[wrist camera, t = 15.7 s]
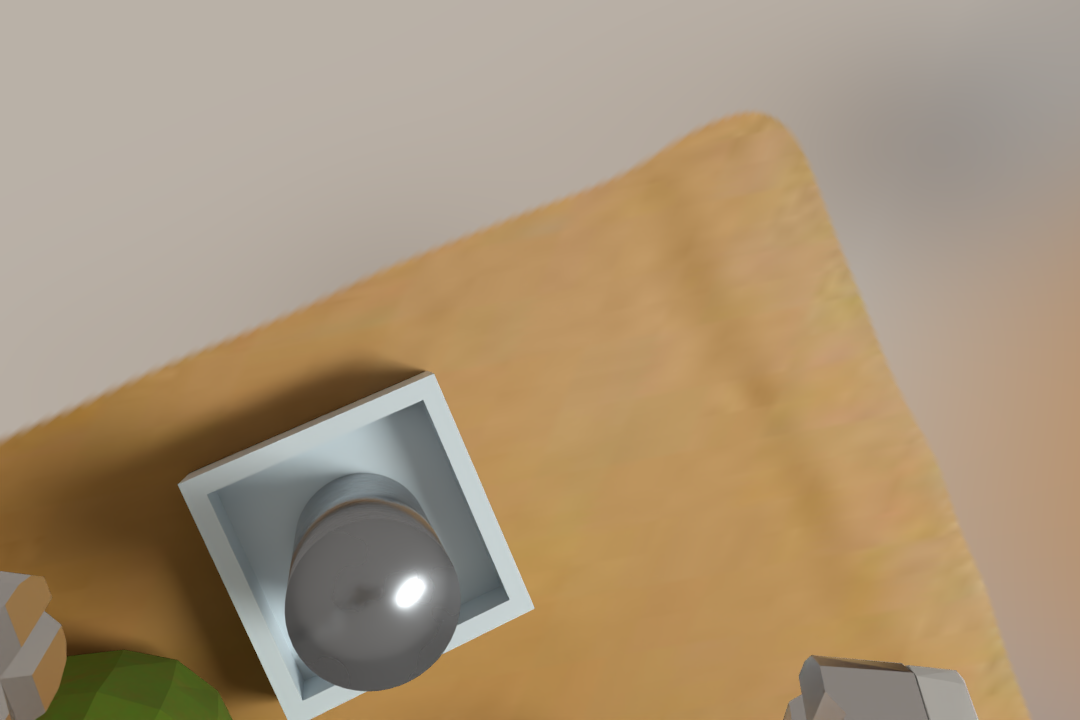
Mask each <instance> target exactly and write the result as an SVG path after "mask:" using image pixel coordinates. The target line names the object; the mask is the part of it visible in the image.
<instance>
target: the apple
mask: <svg viewBox="0 0 1080 720" xmlns="http://www.w3.org/2000/svg"><path fill="white" fill-rule="evenodd" d="M66 659H67V660H66V664H65V667H64V671H63V675H62V678H61V682H60V686H59V688H58V690H57V692H56V694H55V696H54V698H53V700H52V702H51V703H50V705H49V707H48V709H47V711H46V712H45V713H44V714H43V715H41V716H40V717H38V718H37V719H35V720H232V718H231V716H230V714H229V712H228V710H227V708H226V706H225V704H224V702H223V700H222V698H221V696H220V694H219V692H218V691H217V690H216V689H215V688H213V687H212V686H211V685H209V684H208V683H207V682H205V681H204V680H203V679H201V678H200V677H199V676H197V675H196V674H195V673H193V672H192V671H191V670H190V669H188V668H187V667H186V666H184V665H183V664H182V663H180V662H179V661H178V660H174V659H169V658H164V657H159V656H154V655H149V654H143V653H138V652H133V651H128V650H117V651H109V652H100V653H91V654H83V655H74V656H67V657H66Z"/></svg>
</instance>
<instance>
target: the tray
mask: <svg viewBox="0 0 1080 720" xmlns="http://www.w3.org/2000/svg"><path fill="white" fill-rule="evenodd" d="M356 473H373V474H379V475H383V476H386V477H389V478H391V479H393V480H395V481H397V482H399V483H400V484H402V485H403V486H404V487H406V488H407V489H408V490H409V491H410V492H411V493H412V494H413V495H414V496H415V498H416V499H417V500H418V502H419V504H420V505H421V507H422V509H423V511H424V513H425V515H426V516H427V518H428V520H429V522H430V524H431V526H432V527H433V529H434V531H435V533H436V535H437V536H438V538H439V540H440V542H441V544H442V546H443V547H444V549H445V551H446V553H447V555H448V557H449V558H450V560H451V562H452V564H453V566H454V568H455V571H456V574H457V577H458V581H459V585H460V594H461V606H460V614H459V620H458V623H457V626H456V630H455V632H454V634H453V637H452V639H451V641H450V643H449V644H448V646H447V648H446V649H445V651H444V652H443V653H445V652H448V651H450V650H452V649H454V648H456V647H458V646H460V645H462V644H464V643H466V642H468V641H470V640H472V639H474V638H476V637H478V636H480V635H482V634H484V633H486V632H488V631H490V630H492V629H494V628H496V627H498V626H500V625H502V624H504V623H506V622H508V621H510V620H512V619H514V618H516V617H518V616H520V615H522V614H524V613H527V612H529V611H531V610H533V609H535V608H534V606H533V603H532V601H531V599H530V596H529V594H528V592H527V589H526V587H525V585H524V582H523V580H522V578H521V575H520V573H519V571H518V568H517V566H516V564H515V561H514V559H513V557H512V554H511V552H510V550H509V547H508V545H507V543H506V540H505V538H504V536H503V533H502V531H501V529H500V526H499V524H498V522H497V519H496V517H495V515H494V512H493V510H492V508H491V505H490V503H489V501H488V498H487V496H486V494H485V491H484V489H483V487H482V484H481V482H480V480H479V477H478V475H477V473H476V470H475V468H474V466H473V463H472V461H471V459H470V457H469V454H468V452H467V450H466V447H465V445H464V443H463V440H462V438H461V436H460V433H459V431H458V429H457V426H456V424H455V422H454V419H453V417H452V415H451V412H450V410H449V408H448V405H447V403H446V401H445V398H444V396H443V394H442V391H441V389H440V387H439V384H438V382H437V380H436V377H435V375H434V373H431V372H429V371H425V372H423V373H420V374H418V375H416V376H413V377H411V378H409V379H407V380H404V381H402V382H400V383H397V384H395V385H393V386H390V387H388V388H386V389H383V390H381V391H379V392H376V393H374V394H372V395H369V396H367V397H365V398H362V399H360V400H358V401H355V402H353V403H351V404H349V405H346V406H344V407H342V408H339V409H337V410H335V411H332V412H330V413H328V414H325V415H323V416H321V417H318V418H316V419H314V420H311V421H309V422H307V423H304V424H302V425H300V426H298V427H295V428H293V429H291V430H288V431H286V432H284V433H281V434H279V435H277V436H274V437H272V438H270V439H267V440H265V441H263V442H260V443H258V444H256V445H253V446H251V447H249V448H247V449H244V450H242V451H240V452H237V453H235V454H233V455H230V456H228V457H226V458H223V459H221V460H219V461H216V462H214V463H212V464H209V465H207V466H205V467H202V468H200V469H198V470H196V471H193V472H191V473H189V474H188V475H187V476H186V477H185V478H184V479H183V480H182V481H181V482H180V483H179V484H178V486H179V489H180V491H181V493H182V495H183V497H184V499H185V501H186V504H187V506H188V508H189V510H190V512H191V514H192V516H193V519H194V521H195V523H196V525H197V527H198V529H199V531H200V534H201V536H202V538H203V540H204V542H205V544H206V546H207V548H208V551H209V553H210V555H211V557H212V559H213V561H214V563H215V566H216V568H217V570H218V572H219V574H220V576H221V578H222V581H223V583H224V585H225V587H226V589H227V591H228V593H229V596H230V598H231V600H232V602H233V604H234V606H235V608H236V610H237V613H238V615H239V617H240V619H241V621H242V623H243V625H244V628H245V630H246V632H247V634H248V636H249V638H250V640H251V643H252V645H253V647H254V649H255V651H256V653H257V655H258V658H259V660H260V662H261V664H262V666H263V668H264V670H265V672H266V675H267V677H268V679H269V681H270V683H271V685H272V687H273V690H274V692H275V694H276V696H277V698H278V700H279V702H280V705H281V707H282V709H283V711H284V713H285V715H286V717H287V720H310V719H312V718H314V717H316V716H318V715H320V714H322V713H324V712H326V711H328V710H330V709H332V708H334V707H336V706H338V705H340V704H342V703H344V702H346V701H348V700H350V699H352V698H354V697H356V696H358V695H360V694H362V693H364V692H366V691H356V690H350V689H346V688H342V687H339V686H336V685H334V684H331V683H330V682H328V681H326V680H324V679H322V678H321V677H319V676H318V675H317V674H315V673H314V672H313V671H312V670H311V669H309V668H308V667H307V666H306V665H305V663H304V662H303V661H302V660H301V658H300V657H299V656H298V654H297V652H296V651H295V649H294V647H293V645H292V643H291V640H290V638H289V635H288V631H287V627H286V622H285V598H286V591H287V585H288V578H289V572H290V565H291V559H292V552H293V546H294V539H295V533H296V527H297V523H298V520H299V517H300V515H301V513H302V510H303V509H304V507H305V505H306V504H307V502H308V501H309V500H310V498H311V497H312V496H313V495H314V494H315V493H316V492H317V491H318V490H319V489H320V488H322V487H323V486H325V485H326V484H327V483H329V482H331V481H333V480H335V479H337V478H340V477H342V476H346V475H350V474H356ZM443 653H442V654H443Z"/></svg>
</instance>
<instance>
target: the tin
mask: <svg viewBox="0 0 1080 720" xmlns="http://www.w3.org/2000/svg"><path fill="white" fill-rule="evenodd" d="M460 606H461V594H460V585H459V581H458V577H457V574H456V571H455V568H454V566H453V564H452V562H451V560H450V558H449V557H448V555H447V553H446V551H445V549H444V547H443V546H442V544H441V542H440V540H439V538H438V536H437V535H436V533H435V531H434V529H433V527H432V526H431V524H430V522H429V520H428V518H427V516H426V515H425V513H424V511H423V509H422V507H421V505H420V504H419V502H418V500H417V499H416V498H415V496H414V495H413V494H412V493H411V492H410V491H409V490H408V489H407V488H406V487H404V486H403V485H402V484H400V483H399V482H397V481H395V480H393V479H391V478H389V477H386V476H383V475H379V474H373V473H356V474H350V475H346V476H342V477H340V478H337V479H335V480H333V481H331V482H329V483H327V484H326V485H325V486H323V487H322V488H320V489H319V490H318V491H317V492H316V493H315V494H314V495H313V496H312V497H311V498H310V500H309V501H308V502H307V504H306V505H305V507H304V509H303V510H302V513H301V515H300V517H299V520H298V523H297V527H296V533H295V539H294V546H293V552H292V559H291V565H290V572H289V578H288V585H287V591H286V598H285V622H286V627H287V631H288V635H289V638H290V640H291V643H292V645H293V647H294V649H295V651H296V652H297V654H298V656H299V657H300V658H301V660H302V661H303V662H304V663H305V665H306V666H307V667H308V668H309V669H311V670H312V671H313V672H314V673H315V674H317V675H318V676H319V677H321V678H322V679H324V680H326V681H328V682H330V683H331V684H334V685H336V686H339V687H342V688H346V689H350V690H356V691H379V690H385V689H390V688H393V687H396V686H400V685H402V684H404V683H407V682H409V681H411V680H412V679H414V678H416V677H418V676H419V675H421V674H422V673H423V672H425V671H426V670H427V669H428V668H430V667H431V666H432V665H433V664H434V663H435V662H436V661H437V660H438V658H439V657H440V656H441V655H442V653H443V652H444V651H445V649H446V648H447V646H448V644H449V643H450V641H451V639H452V637H453V634H454V632H455V630H456V626H457V623H458V620H459V614H460Z"/></svg>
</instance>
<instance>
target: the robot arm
mask: <svg viewBox="0 0 1080 720" xmlns="http://www.w3.org/2000/svg"><path fill="white" fill-rule="evenodd" d="M51 599H52V595H51V593H50V591H49V588H48V586H47V583H46V581H45V578H44V577H42V576H34V575H26V574H19V573H11V572H3V571H0V720H35V719H37V718H38V717H40V716H41V715H43V714H44V713H45V712H46V711H47V709H48V707H49V705H50V703H51V702H52V700H53V698H54V696H55V694H56V692H57V690H58V688H59V686H60V682H61V678H62V675H63V671H64V667H65V664H66V660H67V659H66V638H65V635H64V631H63V628H62V625H61V624H60V623H58V622H57V621H56V620H55V619H53V618H52V617H51V616H50V615H49V614H47V613H46V612H45V611H44V610H45V609H46V607H47V605H48V604H49V602H50V601H51ZM799 680H800V686H801V692H802V695H800V696H798V697H797V698H795V699H793V700H791V701H790V702H789V703H788V706H787V709H786V713H785V716H784V719H783V720H978V717H977V714H976V711H975V709H974V706H973V703H972V700H971V698H970V695H969V692H968V689H967V687H966V684H965V681H964V679H963V678H962V677H961V676H960V675H959V673H958V672H957V671H956V670H950V669H941V668H930V667H920V666H910V665H905V666H904V665H903V664H902V663H891V662H880V661H869V660H858V659H847V658H836V657H825V656H814V655H811V656H810V657H809V658H808V659H807V660H806V661H805V662H804V665H803V667H802V670H801V672H800V674H799Z"/></svg>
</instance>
